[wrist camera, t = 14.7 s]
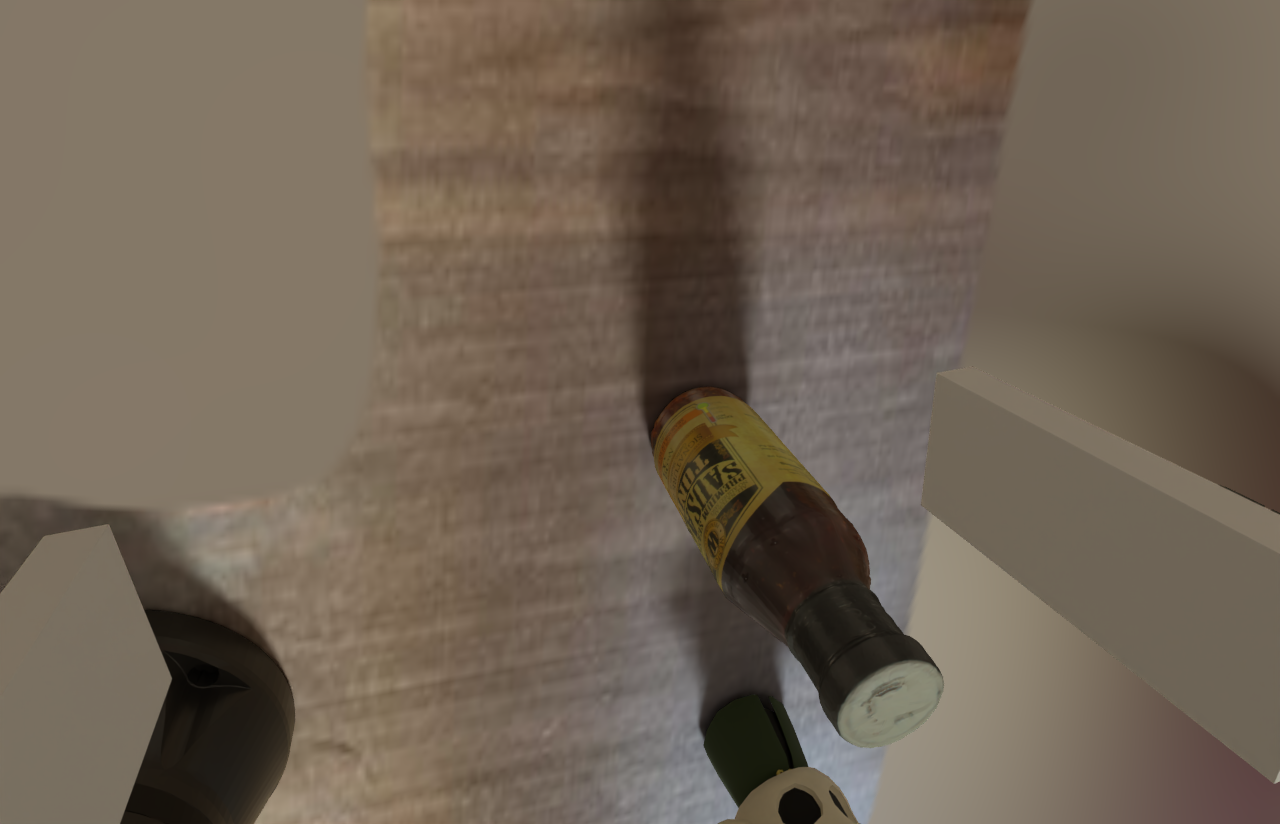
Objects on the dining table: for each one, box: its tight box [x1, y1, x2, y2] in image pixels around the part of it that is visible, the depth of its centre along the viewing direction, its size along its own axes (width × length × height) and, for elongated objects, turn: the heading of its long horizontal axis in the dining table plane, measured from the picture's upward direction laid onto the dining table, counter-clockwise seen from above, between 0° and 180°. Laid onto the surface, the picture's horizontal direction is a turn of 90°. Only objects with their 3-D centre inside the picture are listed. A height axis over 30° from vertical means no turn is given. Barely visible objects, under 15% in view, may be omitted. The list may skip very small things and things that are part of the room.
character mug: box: [704, 695, 860, 824], centre depth 47 cm, size 11×7×13 cm, turn 68°
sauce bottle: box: [651, 387, 944, 748], centre depth 33 cm, size 6×6×20 cm
